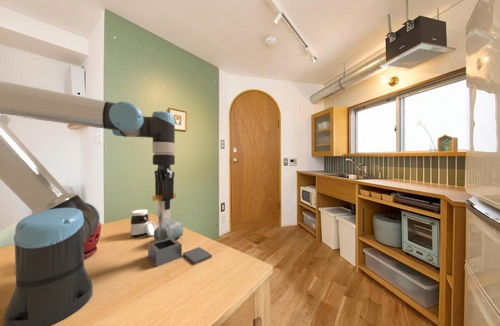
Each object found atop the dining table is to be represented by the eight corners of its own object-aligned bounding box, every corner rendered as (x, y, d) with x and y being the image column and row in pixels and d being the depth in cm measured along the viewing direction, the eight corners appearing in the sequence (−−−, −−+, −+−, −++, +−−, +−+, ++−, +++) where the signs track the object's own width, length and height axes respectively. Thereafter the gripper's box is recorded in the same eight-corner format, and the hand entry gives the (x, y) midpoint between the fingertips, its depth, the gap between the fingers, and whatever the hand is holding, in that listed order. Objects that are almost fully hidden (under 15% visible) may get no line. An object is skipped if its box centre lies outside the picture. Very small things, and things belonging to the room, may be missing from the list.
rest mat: (194, 264, 66) (194, 261, 66) (183, 255, 73) (183, 252, 72) (211, 257, 71) (211, 254, 71) (199, 249, 77) (199, 247, 77)
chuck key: (177, 234, 72) (177, 194, 72) (154, 240, 67) (154, 196, 67) (172, 231, 75) (172, 192, 75) (151, 237, 70) (151, 195, 69)
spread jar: (132, 232, 96) (132, 209, 96) (157, 228, 101) (156, 207, 101) (128, 241, 85) (128, 215, 85) (156, 237, 90) (156, 212, 90)
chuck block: (156, 266, 65) (156, 252, 65) (148, 257, 71) (148, 244, 71) (181, 257, 71) (181, 244, 71) (172, 249, 78) (171, 237, 77)
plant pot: (73, 267, 64) (73, 233, 64) (44, 263, 67) (44, 230, 67) (109, 250, 77) (109, 220, 77) (83, 247, 80) (83, 219, 80)
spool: (163, 242, 76) (161, 218, 81) (149, 249, 80) (147, 225, 84) (189, 239, 88) (186, 217, 92) (176, 245, 91) (173, 224, 95)
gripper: (183, 154, 67) (183, 219, 67) (165, 155, 79) (165, 210, 80) (161, 153, 62) (161, 224, 62) (145, 154, 74) (146, 213, 74)
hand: (164, 216), depth 71 cm, fingers closed on chuck key, 4 cm apart
